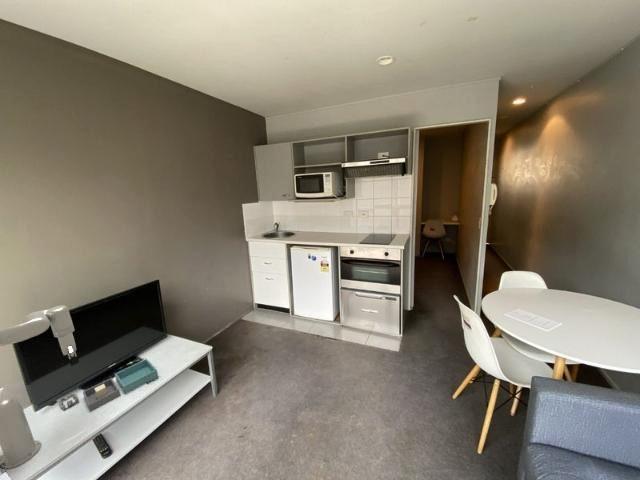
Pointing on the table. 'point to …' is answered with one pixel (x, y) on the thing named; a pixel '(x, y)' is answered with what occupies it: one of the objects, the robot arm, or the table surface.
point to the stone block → (101, 391)
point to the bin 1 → (95, 402)
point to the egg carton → (69, 401)
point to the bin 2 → (136, 376)
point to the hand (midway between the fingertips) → (73, 360)
